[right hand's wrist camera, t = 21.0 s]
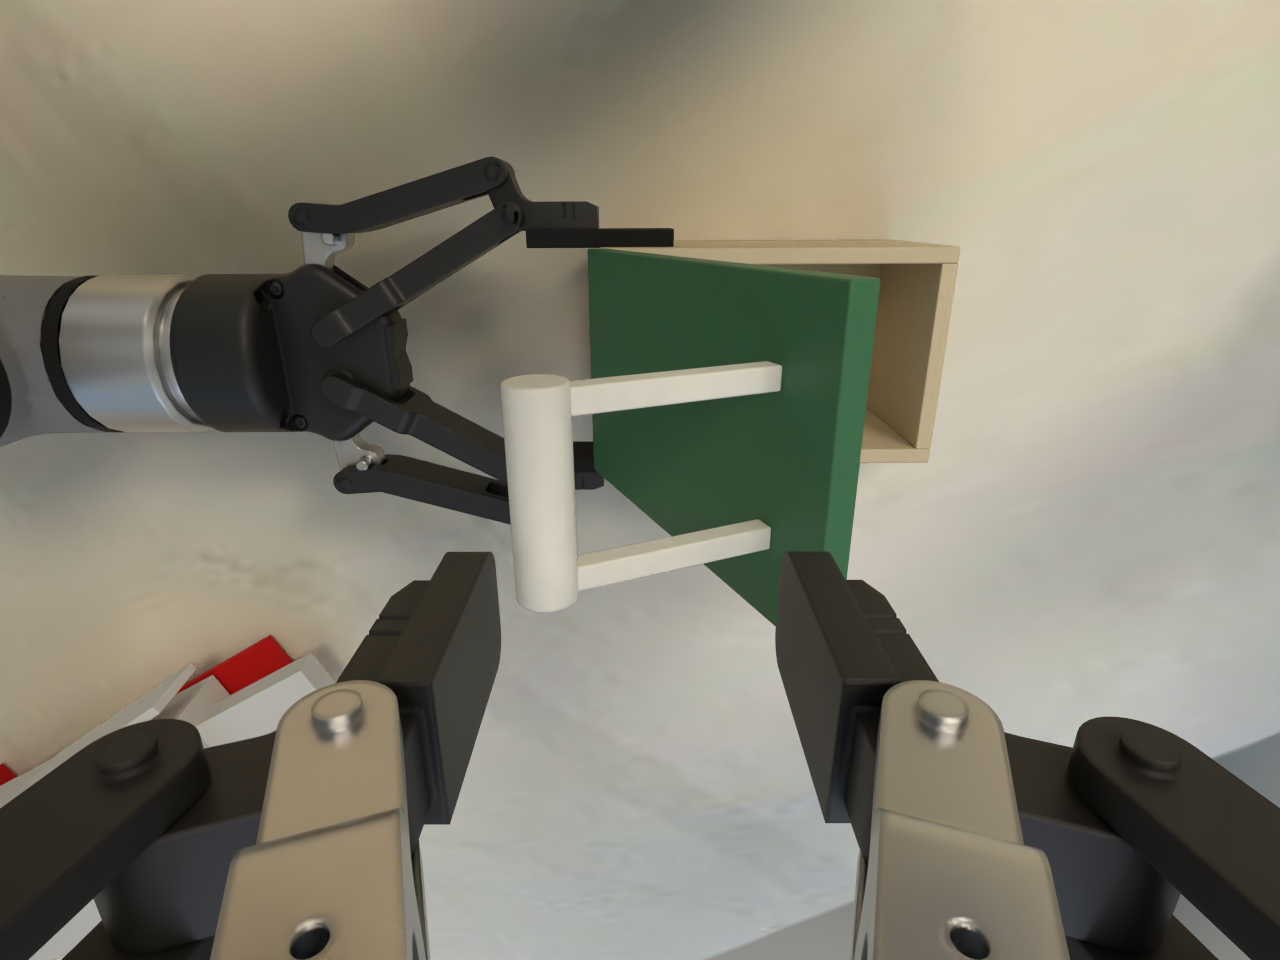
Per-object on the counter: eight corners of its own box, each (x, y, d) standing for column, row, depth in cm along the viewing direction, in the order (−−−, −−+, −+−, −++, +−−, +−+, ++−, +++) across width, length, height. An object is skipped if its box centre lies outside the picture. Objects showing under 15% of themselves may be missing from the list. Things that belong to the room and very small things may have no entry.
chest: (892, 239, 38) (961, 246, 30) (872, 414, 42) (928, 463, 34) (606, 240, 38) (597, 248, 30) (609, 415, 42) (602, 464, 34)
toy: (368, 830, 41) (-73, 1061, 41) (411, 695, 53) (72, 874, 54) (236, 674, 37) (-248, 932, 38) (316, 569, 49) (-47, 764, 50)
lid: (882, 278, 16) (527, 295, 12) (839, 653, 19) (554, 740, 16) (606, 248, 30) (407, 253, 27) (610, 466, 33) (435, 493, 30)
